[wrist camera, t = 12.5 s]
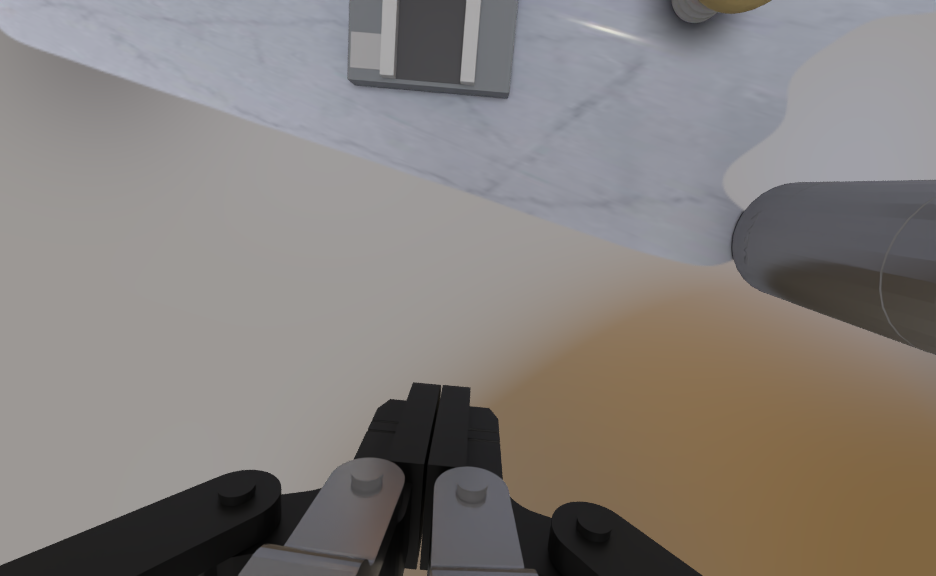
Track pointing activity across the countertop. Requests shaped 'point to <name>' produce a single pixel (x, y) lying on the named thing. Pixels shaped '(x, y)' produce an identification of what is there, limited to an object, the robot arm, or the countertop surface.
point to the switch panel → (433, 45)
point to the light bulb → (712, 8)
